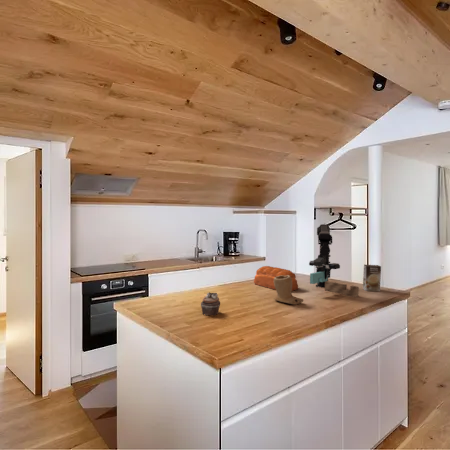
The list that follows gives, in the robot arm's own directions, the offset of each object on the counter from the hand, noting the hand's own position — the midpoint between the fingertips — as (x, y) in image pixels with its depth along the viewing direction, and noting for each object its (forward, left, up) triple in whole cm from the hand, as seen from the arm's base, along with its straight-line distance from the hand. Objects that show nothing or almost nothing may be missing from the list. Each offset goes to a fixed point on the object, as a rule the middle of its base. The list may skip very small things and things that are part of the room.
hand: (323, 278), depth 214 cm
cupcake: (-10, -80, -9) cm, 81 cm away
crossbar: (0, -5, -2) cm, 5 cm away
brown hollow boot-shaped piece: (0, -35, -10) cm, 36 cm away
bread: (-32, -9, -10) cm, 34 cm away
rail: (+7, +8, -9) cm, 14 cm away
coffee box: (+14, +32, -9) cm, 36 cm away
